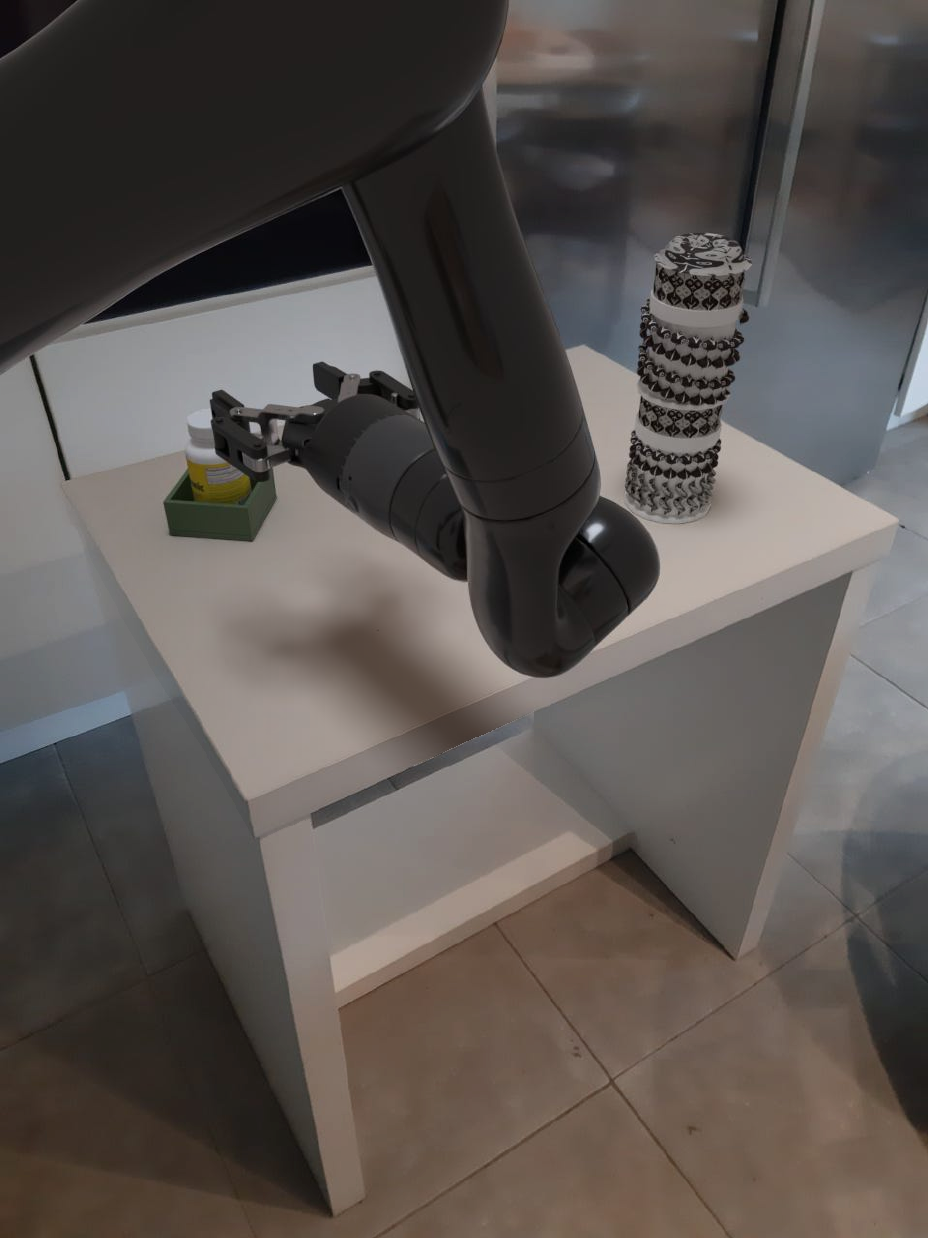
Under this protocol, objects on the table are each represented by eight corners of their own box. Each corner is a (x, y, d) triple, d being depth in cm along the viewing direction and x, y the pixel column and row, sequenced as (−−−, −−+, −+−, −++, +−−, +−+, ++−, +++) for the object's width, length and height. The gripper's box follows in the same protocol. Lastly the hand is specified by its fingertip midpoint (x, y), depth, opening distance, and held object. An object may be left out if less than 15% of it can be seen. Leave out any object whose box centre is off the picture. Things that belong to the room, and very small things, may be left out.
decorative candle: (649, 469, 102) (681, 218, 87) (730, 497, 97) (780, 238, 82) (601, 504, 96) (627, 242, 81) (686, 536, 92) (730, 265, 76)
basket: (252, 541, 91) (247, 507, 89) (169, 535, 92) (162, 501, 89) (276, 497, 97) (272, 465, 95) (199, 492, 98) (193, 460, 96)
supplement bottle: (194, 501, 95) (176, 408, 89) (250, 492, 97) (236, 400, 91) (199, 529, 91) (181, 434, 85) (257, 520, 93) (243, 426, 87)
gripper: (478, 389, 65) (344, 318, 75) (292, 450, 58) (172, 363, 68) (476, 488, 70) (350, 408, 80) (303, 556, 63) (189, 459, 73)
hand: (268, 388), depth 74 cm, fingers open, 8 cm apart
